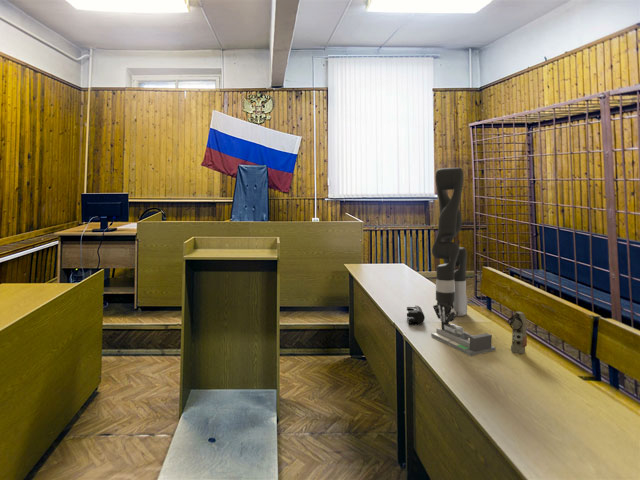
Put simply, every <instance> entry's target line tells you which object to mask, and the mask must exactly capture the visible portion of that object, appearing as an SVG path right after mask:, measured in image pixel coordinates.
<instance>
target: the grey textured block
mask: <svg viewBox="0 0 640 480" xmlns="http://www.w3.org/2000/svg"><path fill="white" fill-rule="evenodd" d="M444 331H446V332H448V333H450V334H452V335H455V336H457V337H459V338H461V339H463V338H464V333H463V331H464V327H462V326H460V325H457V324H455V323H449V324H447V325H444Z"/></svg>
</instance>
